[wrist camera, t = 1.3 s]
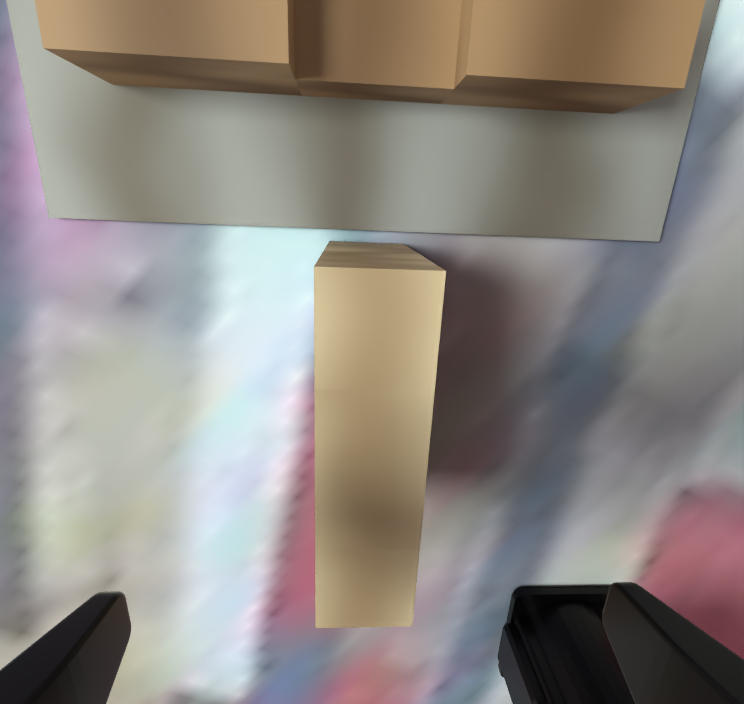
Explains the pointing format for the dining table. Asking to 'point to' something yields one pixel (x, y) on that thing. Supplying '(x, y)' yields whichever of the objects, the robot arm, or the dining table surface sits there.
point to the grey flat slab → (364, 111)
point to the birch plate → (372, 427)
